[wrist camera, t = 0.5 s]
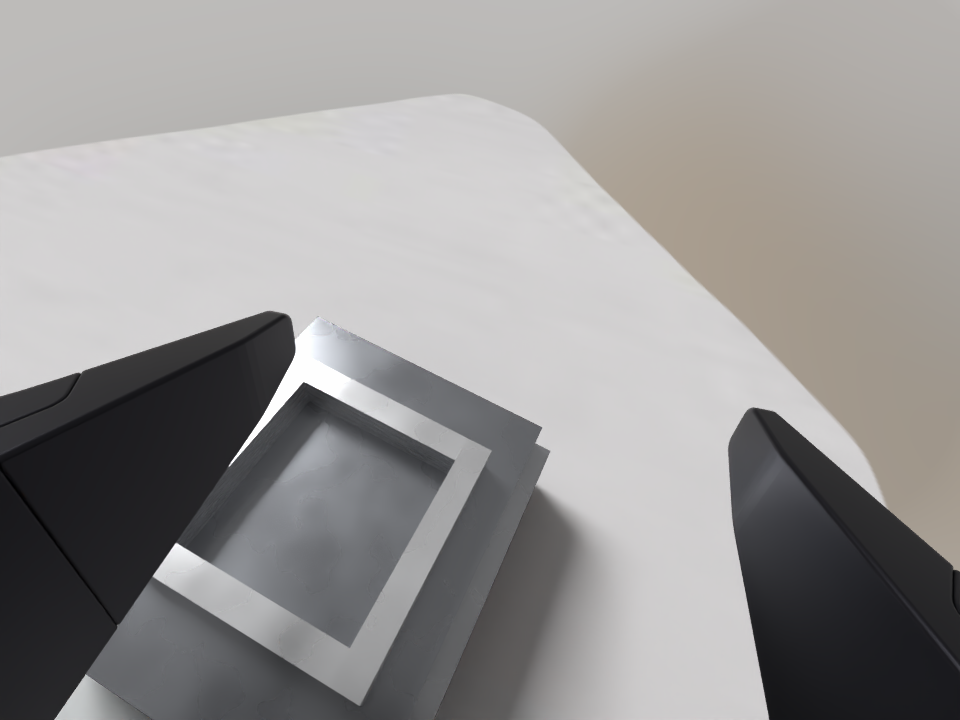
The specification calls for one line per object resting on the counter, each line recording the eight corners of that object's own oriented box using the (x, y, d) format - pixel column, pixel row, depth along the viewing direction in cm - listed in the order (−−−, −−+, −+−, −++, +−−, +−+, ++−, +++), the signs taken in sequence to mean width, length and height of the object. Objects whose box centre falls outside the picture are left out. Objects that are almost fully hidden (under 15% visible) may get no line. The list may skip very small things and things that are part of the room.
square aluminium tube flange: (378, 828, 16) (371, 887, 11) (86, 634, 18) (-38, 607, 13) (532, 480, 24) (570, 419, 19) (317, 369, 26) (297, 286, 21)
